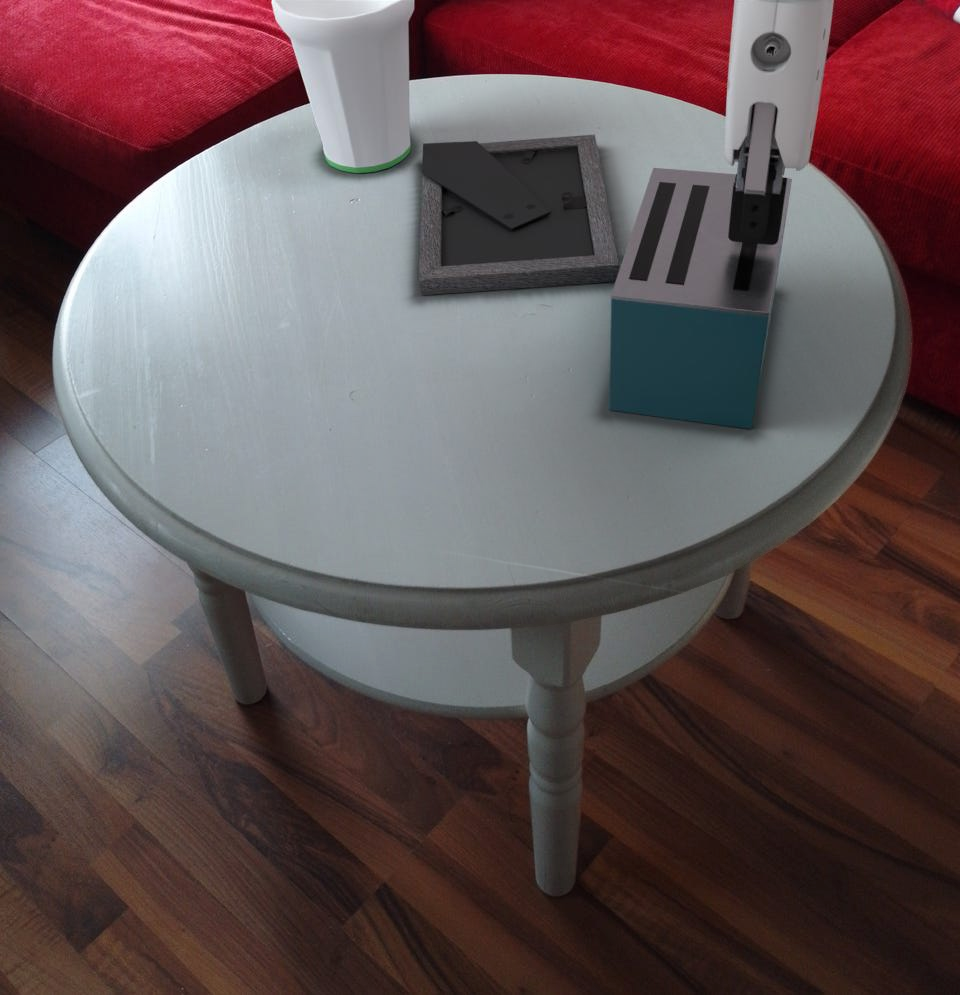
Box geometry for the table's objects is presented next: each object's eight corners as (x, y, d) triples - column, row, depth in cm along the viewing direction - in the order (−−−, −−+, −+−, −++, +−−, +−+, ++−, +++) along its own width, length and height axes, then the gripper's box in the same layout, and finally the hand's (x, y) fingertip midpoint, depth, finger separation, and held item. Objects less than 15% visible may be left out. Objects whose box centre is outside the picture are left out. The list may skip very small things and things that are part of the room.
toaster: (774, 292, 86) (792, 177, 78) (751, 429, 75) (769, 311, 68) (648, 279, 88) (653, 166, 81) (608, 410, 78) (610, 294, 70)
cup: (355, 109, 111) (329, -48, 100) (456, 135, 106) (441, -28, 95) (277, 166, 105) (241, 5, 94) (382, 197, 99) (356, 30, 88)
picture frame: (425, 162, 103) (421, 295, 89) (423, 143, 102) (418, 274, 87) (594, 149, 102) (618, 281, 88) (594, 130, 101) (618, 260, 87)
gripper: (853, 2, 53) (802, 310, 66) (868, -105, 63) (821, 182, 76) (697, -4, 55) (678, 297, 68) (735, -107, 65) (712, 174, 78)
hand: (753, 236), depth 72 cm, fingers closed
